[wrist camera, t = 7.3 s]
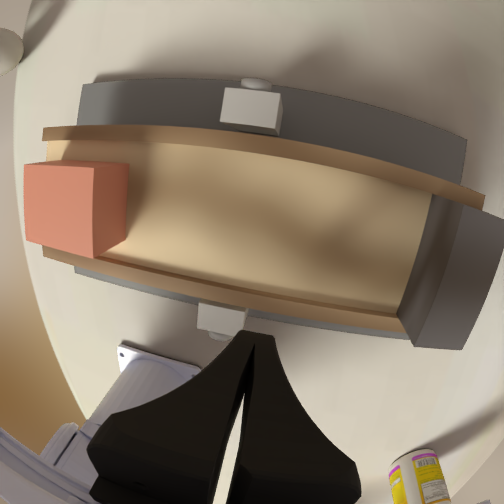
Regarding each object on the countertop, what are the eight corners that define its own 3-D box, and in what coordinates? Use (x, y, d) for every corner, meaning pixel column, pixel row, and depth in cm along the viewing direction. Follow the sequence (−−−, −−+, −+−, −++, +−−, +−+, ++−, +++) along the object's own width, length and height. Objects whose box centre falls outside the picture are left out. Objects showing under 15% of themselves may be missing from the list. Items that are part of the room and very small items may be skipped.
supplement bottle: (396, 477, 27) (407, 551, 15) (380, 464, 26) (392, 549, 14) (439, 456, 25) (459, 529, 13) (429, 440, 24) (453, 525, 12)
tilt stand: (405, 333, 20) (430, 380, 15) (81, 268, 22) (37, 297, 17) (459, 140, 15) (510, 140, 10) (90, 86, 17) (39, 75, 12)
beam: (428, 322, 15) (454, 363, 11) (57, 249, 17) (17, 270, 13) (470, 191, 12) (514, 204, 8) (59, 127, 14) (13, 128, 10)
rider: (125, 240, 15) (93, 258, 12) (59, 226, 15) (26, 240, 12) (129, 163, 13) (93, 167, 10) (60, 159, 14) (24, 164, 11)
